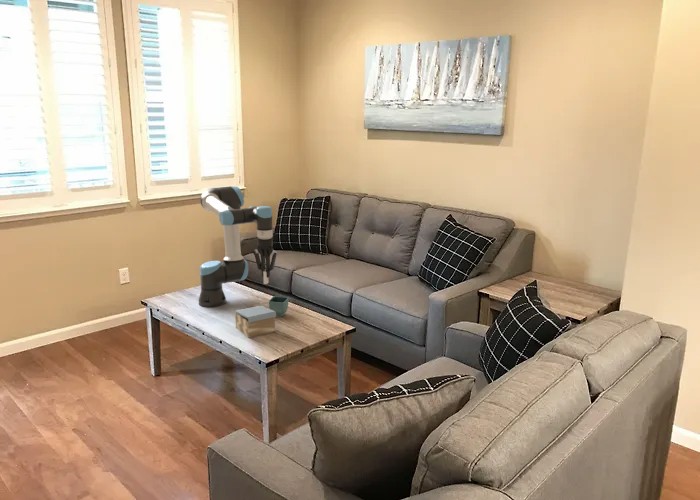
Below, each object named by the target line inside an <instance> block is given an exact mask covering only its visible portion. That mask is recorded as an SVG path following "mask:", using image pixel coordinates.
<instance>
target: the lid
mask: <svg viewBox="0 0 700 500" xmlns="http://www.w3.org/2000/svg"><path fill="white" fill-rule="evenodd" d="M234 313H237V314H239V315H241V316H243V317H245V318H247V319H248V322H253V321H258V320H263V319H267V318H272V317H275V318H276V317H277V316H276V312H275V311H273V310H271V309H269V308H268V307H266V306H263V305H256V306H253V307H251V306H250V307H247V308H241V309H237V310H234Z"/></svg>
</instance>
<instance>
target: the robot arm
mask: <svg viewBox="0 0 700 500" xmlns="http://www.w3.org/2000/svg"><path fill="white" fill-rule="evenodd" d="M199 203H200V205H201V207H202V208H203V209H204V210H206V211H208V212H211V213H213V214H214V215H216V216H217V217H218V218H219V222H220V224H221V225H222V226H223V238H224V251H225V252H224V253H225V256H224V257H223V259H222V261H223V262H221V261H220V260H208V261H206V262H204V263H202V264H201V265H200V266H199V276H200V293H199V297H198V305H199V306H201V307H206V308H207V307H208V308H213V307H218V306H219V307H220V306H223V305H225V304H226V303H227V297H226V295H225V291H224V290H223V284H229V283H234V282H241V281H244V280H246V279H247V277H248V276H249V275H248V274H249V263H248V262H247V261H248V260H246V259H244V256H243V255H242V252H241V237H240V236H241V235H240V225H244V224H254V223H255V224H256V236H257V243H256V244H257V247H256V248H255V249H254V250H253V251H252V254H253V255H254V259H255V262H256V263H255V264H256V265H257V269H258V271H259V270H260V272H261V277H262V278H263V285H267V284H268V283H269V278H270V277H271V271H273V270H274V267H275V264H276V260H277V256H278V254H279V252H278V251H276V250H274V242H273V240H274V239H273V238H274V237H273V235H274V234H273V211H272V210H273V209H272V207H271V206H270V205H259V206H255V205H251V206H249V207H245V208H242V207H244V203H245V199H244V193H243V192H242V190H241V188H240V187H238V186H231V185H230V186H219V187H211V188H208V189H206V190H204V191H203V192H202V194H201V196H200V198H199Z"/></svg>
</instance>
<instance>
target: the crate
mask: <svg viewBox="0 0 700 500" xmlns="http://www.w3.org/2000/svg"><path fill="white" fill-rule="evenodd" d="M234 313H235V329H237V330H239V331H240V332H241V333H242V334H244V336H246V338H248V339H251V338H256V337H260V336H264V335H270V334H273V333H276V317H272V318H267V319H263V320H258V321H253V322H248V319H247V318H245V317H243V316H241V315H239V314H237V313H236V312H234Z"/></svg>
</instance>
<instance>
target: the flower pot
mask: <svg viewBox="0 0 700 500" xmlns="http://www.w3.org/2000/svg"><path fill="white" fill-rule="evenodd" d="M289 300H290V299H289V296H288V297H287V296H276V295H275V296H272V297H271V298H269V300H268V307H269V308H268V309H271V310H273V311H275V312H276V317H278V318H279V317H280V318H283V317H284V316H285V314H286V313H287V311H288V307H289V303H290V302H289Z"/></svg>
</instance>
